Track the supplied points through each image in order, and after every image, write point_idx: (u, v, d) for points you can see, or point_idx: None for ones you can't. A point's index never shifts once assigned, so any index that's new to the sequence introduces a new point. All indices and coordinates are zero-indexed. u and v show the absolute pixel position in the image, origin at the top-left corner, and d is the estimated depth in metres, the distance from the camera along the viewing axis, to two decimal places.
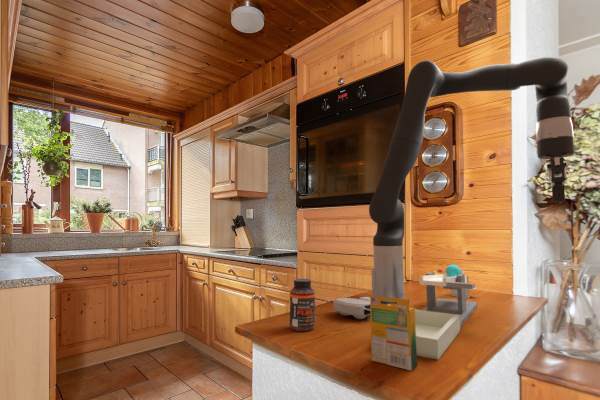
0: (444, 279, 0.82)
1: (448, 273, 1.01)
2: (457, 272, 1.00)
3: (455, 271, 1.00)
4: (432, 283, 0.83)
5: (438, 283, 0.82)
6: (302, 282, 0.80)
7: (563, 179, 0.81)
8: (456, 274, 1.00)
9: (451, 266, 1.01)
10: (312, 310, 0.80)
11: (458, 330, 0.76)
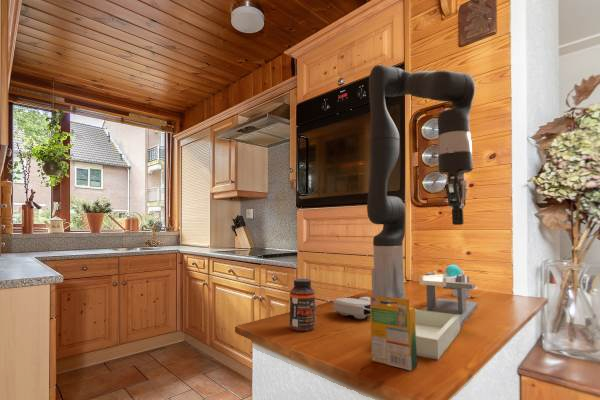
0: (444, 279, 0.82)
1: (448, 273, 1.01)
2: (457, 272, 1.00)
3: (455, 271, 1.00)
4: (432, 283, 0.83)
5: (438, 283, 0.82)
6: (302, 282, 0.80)
7: (459, 205, 0.80)
8: (456, 274, 1.00)
9: (451, 266, 1.01)
10: (312, 310, 0.80)
11: (458, 330, 0.76)
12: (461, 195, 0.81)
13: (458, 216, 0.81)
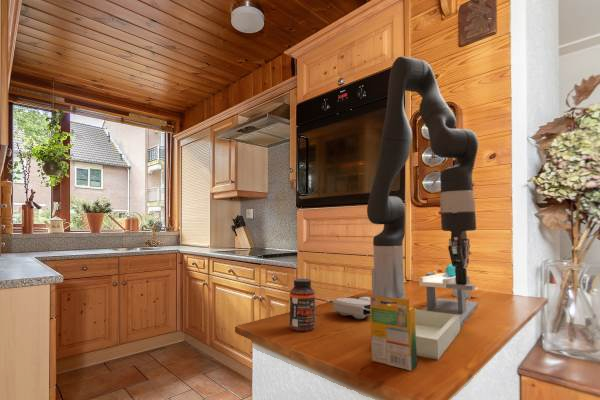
0: (444, 281, 0.82)
1: (448, 272, 1.01)
2: None
3: None
4: (432, 284, 0.83)
5: (438, 285, 0.82)
6: (302, 282, 0.80)
7: (462, 266, 0.79)
8: None
9: (451, 265, 1.01)
10: (312, 310, 0.80)
11: (458, 330, 0.76)
12: (464, 255, 0.80)
13: (462, 276, 0.80)
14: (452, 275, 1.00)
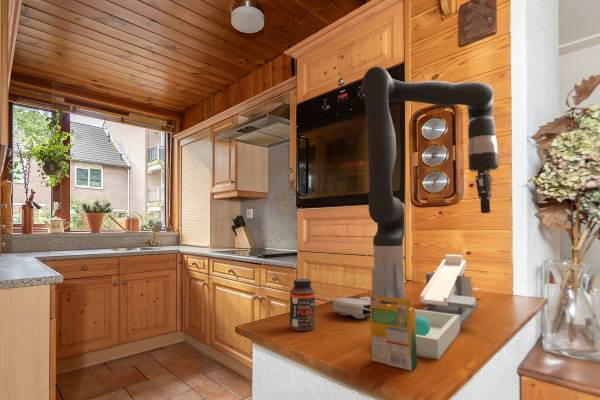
0: (445, 299, 0.81)
1: None
2: (425, 332, 0.71)
3: (422, 332, 0.71)
4: (433, 302, 0.83)
5: (439, 302, 0.82)
6: (302, 282, 0.80)
7: (487, 196, 0.97)
8: (424, 334, 0.72)
9: (416, 324, 0.72)
10: (312, 310, 0.80)
11: (458, 330, 0.76)
12: (488, 188, 0.98)
13: (486, 206, 0.98)
14: None
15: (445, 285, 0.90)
